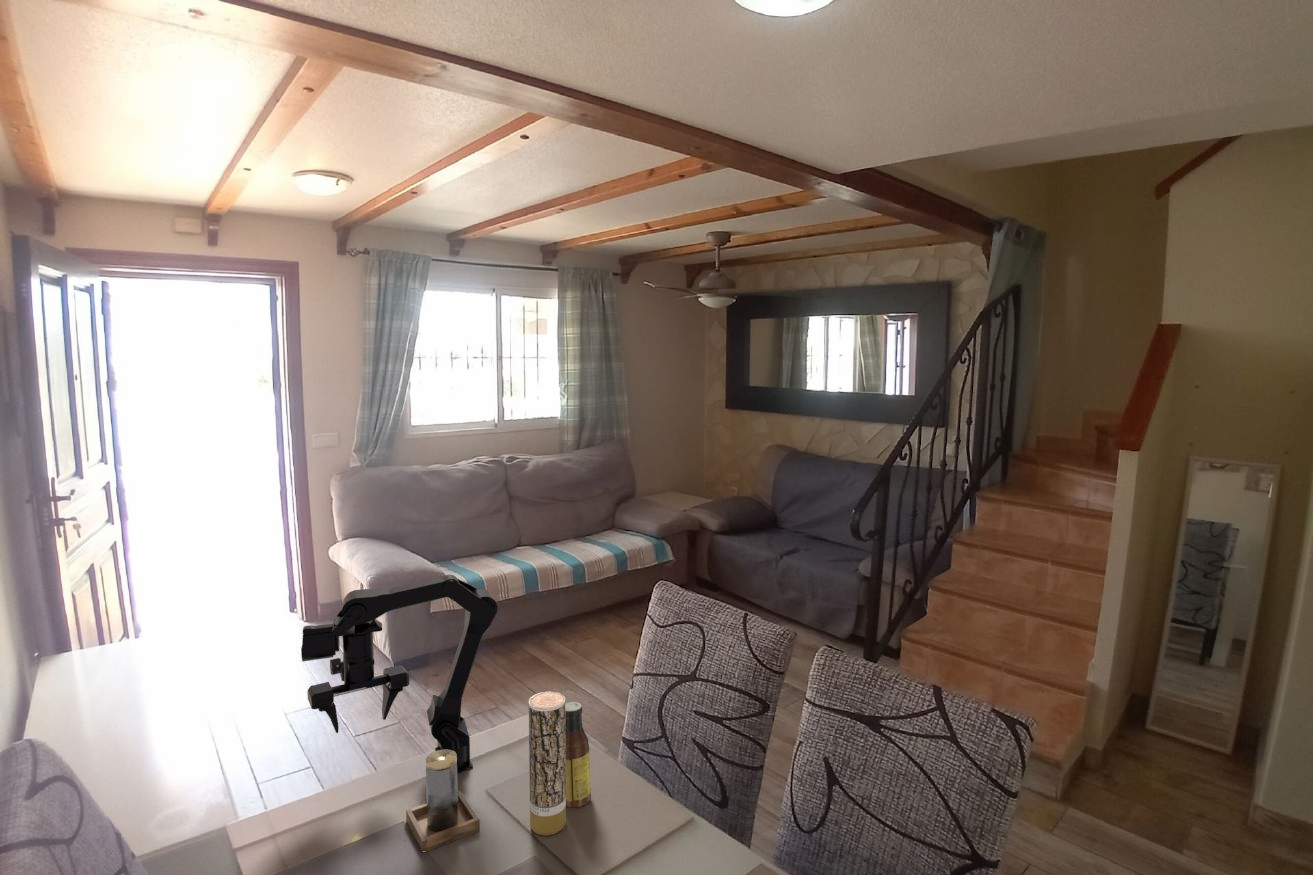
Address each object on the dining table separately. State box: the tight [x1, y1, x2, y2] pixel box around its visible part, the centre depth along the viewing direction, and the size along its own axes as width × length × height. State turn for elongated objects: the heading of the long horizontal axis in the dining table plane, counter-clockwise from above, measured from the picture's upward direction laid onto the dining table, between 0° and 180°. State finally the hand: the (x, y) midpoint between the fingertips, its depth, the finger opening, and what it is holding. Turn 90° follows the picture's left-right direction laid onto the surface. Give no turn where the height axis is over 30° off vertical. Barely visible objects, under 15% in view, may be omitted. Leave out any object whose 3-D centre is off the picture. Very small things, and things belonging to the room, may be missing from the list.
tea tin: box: [425, 749, 459, 832], centre depth 128 cm, size 6×6×13 cm
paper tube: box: [528, 691, 567, 836], centre depth 127 cm, size 7×7×25 cm
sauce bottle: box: [565, 701, 592, 809], centre depth 135 cm, size 7×6×20 cm
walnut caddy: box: [405, 791, 481, 852], centre depth 128 cm, size 11×11×2 cm
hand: (360, 725), depth 140 cm, fingers open, 9 cm apart
